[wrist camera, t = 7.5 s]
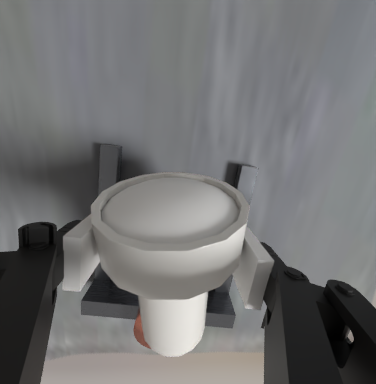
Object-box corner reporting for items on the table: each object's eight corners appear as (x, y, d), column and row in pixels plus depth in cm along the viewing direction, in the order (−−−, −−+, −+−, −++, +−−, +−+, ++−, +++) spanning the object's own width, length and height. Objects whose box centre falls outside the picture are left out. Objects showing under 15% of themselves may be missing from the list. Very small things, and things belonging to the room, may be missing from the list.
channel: (105, 144, 18) (74, 145, 13) (253, 166, 19) (282, 176, 14) (97, 293, 22) (71, 342, 17) (221, 305, 23) (233, 355, 18)
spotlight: (245, 169, 14) (266, 253, 6) (226, 286, 19) (227, 407, 11) (131, 160, 15) (40, 224, 8) (142, 273, 20) (95, 375, 13)
